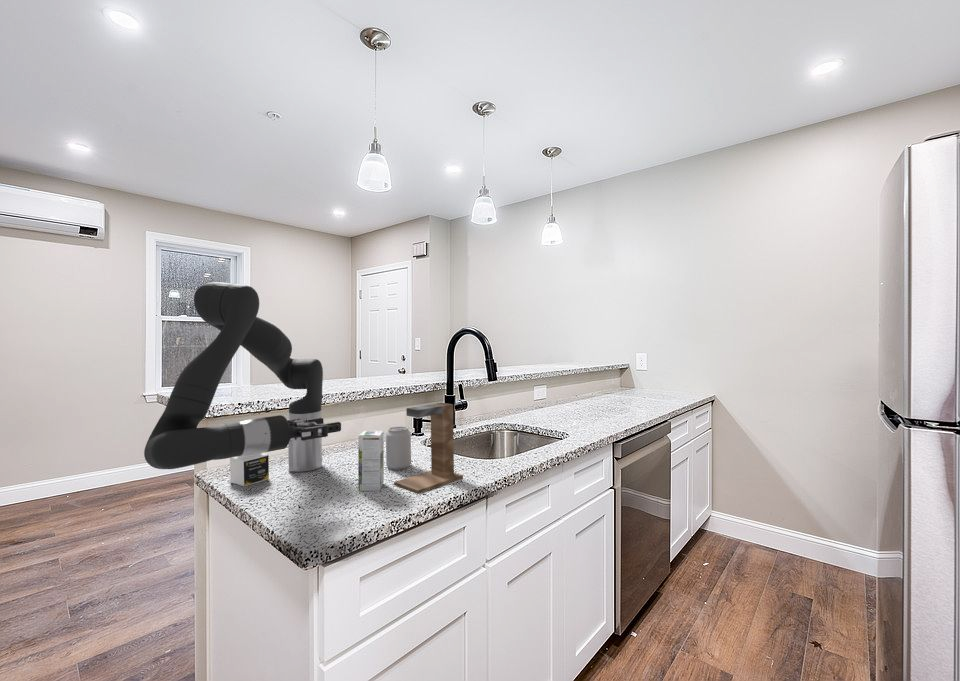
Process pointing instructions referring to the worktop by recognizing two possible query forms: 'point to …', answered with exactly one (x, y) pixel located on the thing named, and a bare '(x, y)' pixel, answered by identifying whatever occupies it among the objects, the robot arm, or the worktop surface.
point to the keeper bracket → (435, 449)
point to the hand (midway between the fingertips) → (331, 424)
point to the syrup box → (371, 461)
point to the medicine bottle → (249, 469)
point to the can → (398, 448)
